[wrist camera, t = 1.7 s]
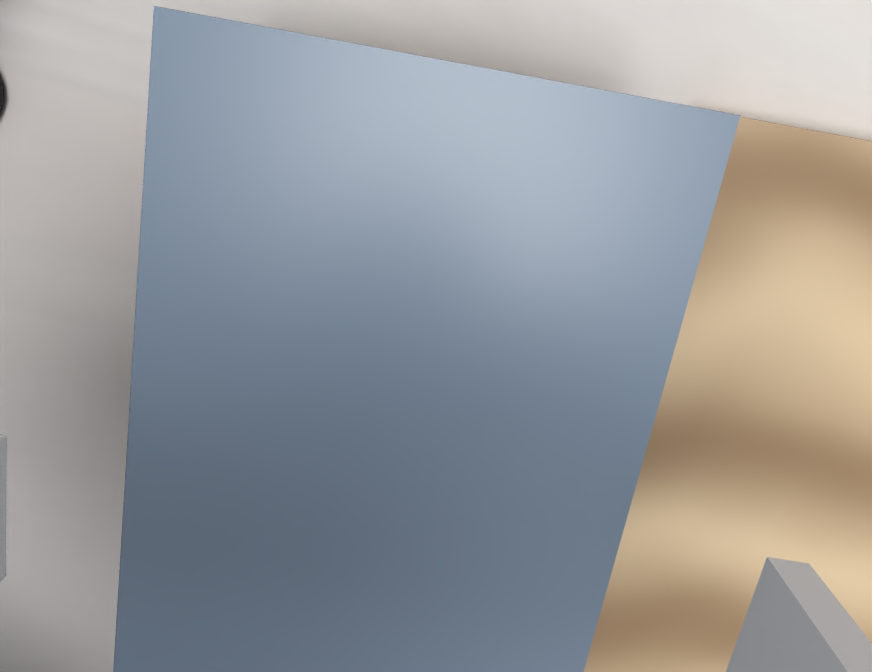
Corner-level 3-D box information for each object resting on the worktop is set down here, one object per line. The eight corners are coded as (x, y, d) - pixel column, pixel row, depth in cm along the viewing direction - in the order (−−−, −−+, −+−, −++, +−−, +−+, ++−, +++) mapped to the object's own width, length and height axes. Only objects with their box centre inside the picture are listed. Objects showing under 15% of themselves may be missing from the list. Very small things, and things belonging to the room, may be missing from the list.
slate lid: (517, 717, 22) (534, 844, 19) (163, 668, 22) (106, 788, 18) (673, 112, 17) (740, 114, 14) (218, 28, 17) (154, 5, 13)
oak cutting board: (916, 742, 28) (942, 777, 26) (541, 688, 27) (548, 721, 26) (1162, 198, 22) (1213, 205, 20) (695, 111, 21) (714, 112, 20)
